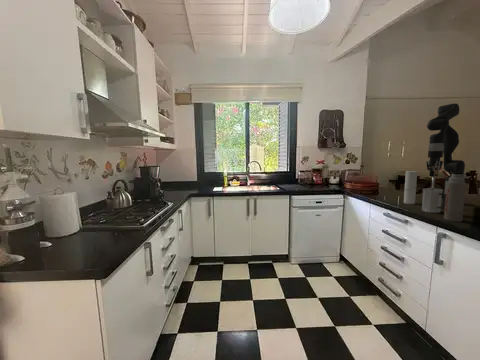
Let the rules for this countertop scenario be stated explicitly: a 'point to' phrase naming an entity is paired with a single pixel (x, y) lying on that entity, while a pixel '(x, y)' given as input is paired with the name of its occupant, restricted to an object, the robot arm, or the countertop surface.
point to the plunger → (434, 178)
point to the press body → (433, 200)
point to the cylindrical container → (410, 187)
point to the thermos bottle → (455, 197)
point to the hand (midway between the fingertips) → (433, 176)
